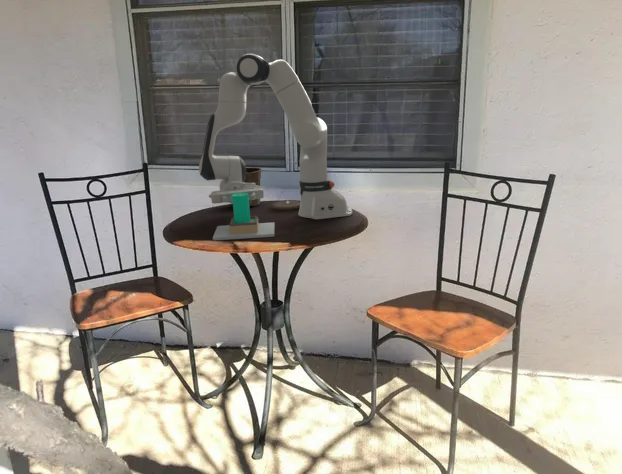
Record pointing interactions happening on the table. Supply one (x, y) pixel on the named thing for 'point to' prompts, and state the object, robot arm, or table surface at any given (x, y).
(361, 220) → the table surface
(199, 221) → the table surface
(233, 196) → the candle
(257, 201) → the plant pot
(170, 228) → the table surface
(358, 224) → the table surface
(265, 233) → the board
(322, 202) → the robot arm
